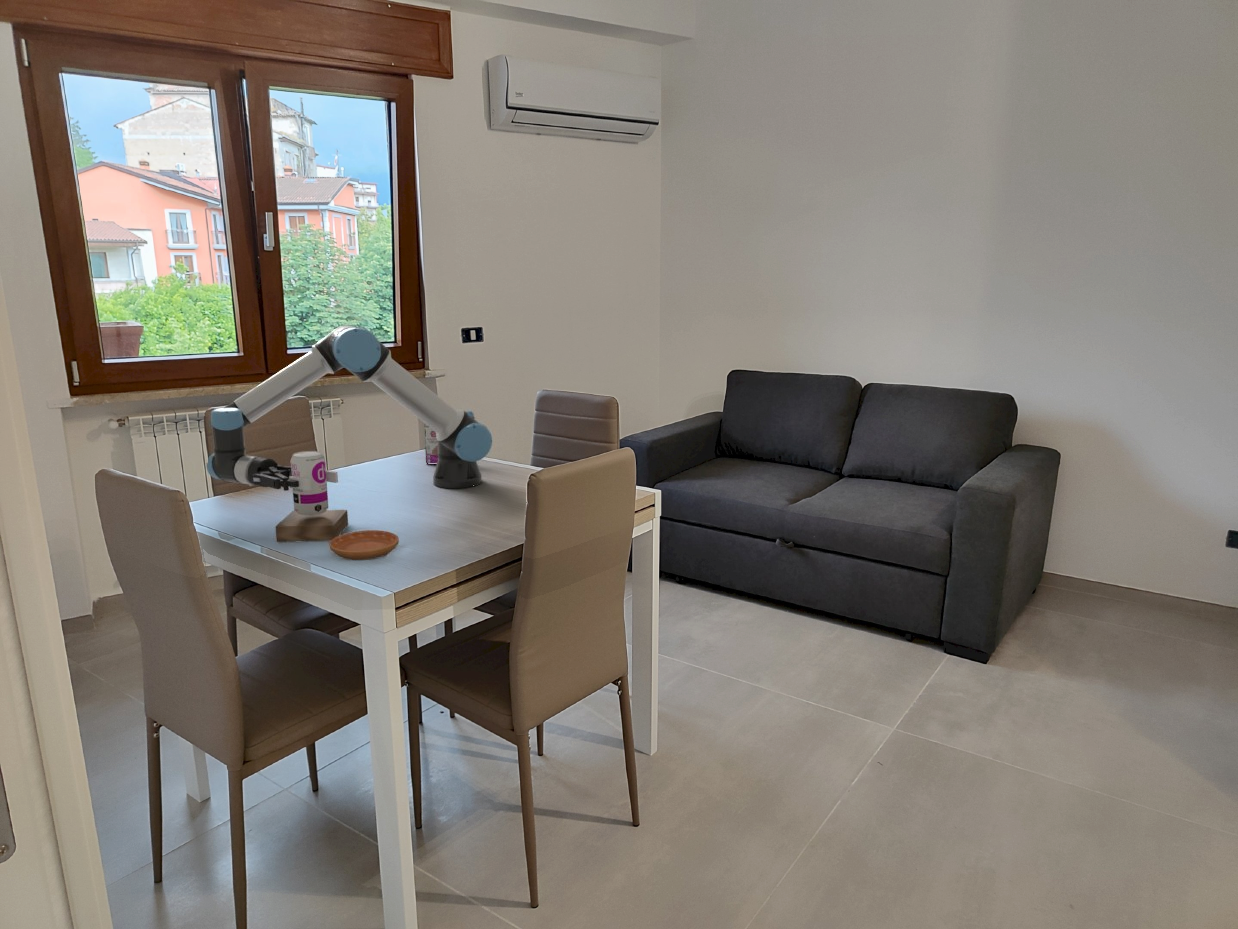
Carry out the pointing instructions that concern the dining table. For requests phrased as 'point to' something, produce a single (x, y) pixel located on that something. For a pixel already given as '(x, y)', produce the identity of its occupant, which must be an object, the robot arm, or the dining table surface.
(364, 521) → the dining table surface
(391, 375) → the robot arm
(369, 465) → the dining table surface
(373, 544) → the saucer
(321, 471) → the supplement can
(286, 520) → the podium
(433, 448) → the candy bar box
